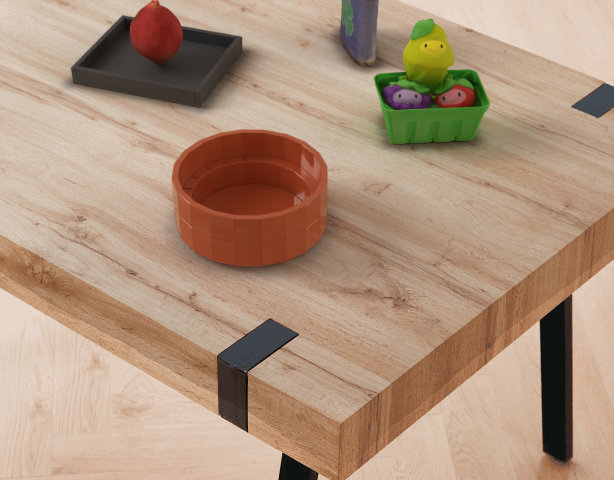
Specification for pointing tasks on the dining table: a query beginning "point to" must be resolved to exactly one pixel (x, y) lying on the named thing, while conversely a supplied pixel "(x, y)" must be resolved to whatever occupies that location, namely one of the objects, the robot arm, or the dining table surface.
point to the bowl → (250, 197)
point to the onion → (156, 33)
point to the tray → (159, 65)
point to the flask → (359, 30)
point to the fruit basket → (430, 92)
